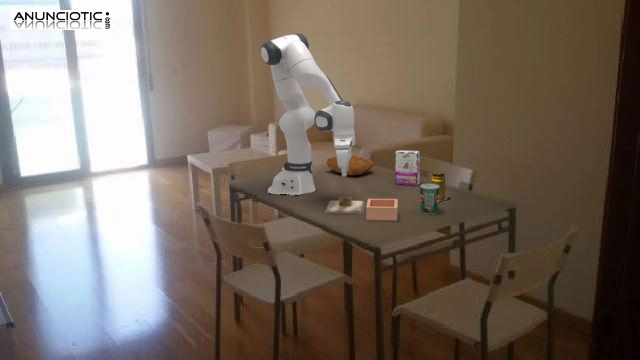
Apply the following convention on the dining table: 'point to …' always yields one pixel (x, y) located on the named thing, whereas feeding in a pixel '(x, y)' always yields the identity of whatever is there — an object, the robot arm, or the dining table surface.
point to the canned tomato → (429, 198)
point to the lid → (345, 205)
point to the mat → (345, 212)
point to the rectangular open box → (381, 210)
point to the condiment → (439, 183)
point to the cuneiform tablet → (352, 165)
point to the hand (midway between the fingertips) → (345, 173)
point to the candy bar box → (407, 168)
